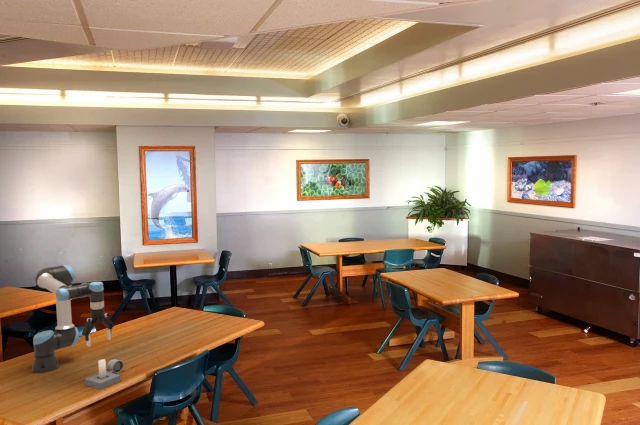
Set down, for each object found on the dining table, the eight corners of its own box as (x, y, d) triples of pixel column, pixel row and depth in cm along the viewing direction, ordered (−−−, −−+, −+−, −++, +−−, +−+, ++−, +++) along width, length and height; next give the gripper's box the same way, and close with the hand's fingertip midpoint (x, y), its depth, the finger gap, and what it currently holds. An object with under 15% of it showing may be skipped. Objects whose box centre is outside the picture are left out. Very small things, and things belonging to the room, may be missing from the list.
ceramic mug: (117, 368, 334) (116, 356, 334) (124, 370, 330) (123, 359, 329) (101, 373, 326) (100, 361, 325) (109, 376, 321) (108, 364, 320)
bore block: (85, 384, 309) (84, 378, 308) (105, 376, 320) (105, 371, 320) (100, 389, 301) (99, 383, 301) (120, 380, 313) (120, 375, 313)
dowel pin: (97, 380, 310) (96, 360, 309) (103, 378, 313) (102, 358, 313) (102, 382, 308) (100, 362, 307) (108, 379, 311) (106, 359, 310)
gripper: (81, 313, 301) (83, 349, 302) (119, 304, 321) (120, 337, 323) (74, 312, 305) (75, 347, 306) (111, 302, 326) (113, 335, 327)
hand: (98, 342), depth 315 cm, fingers open, 13 cm apart
